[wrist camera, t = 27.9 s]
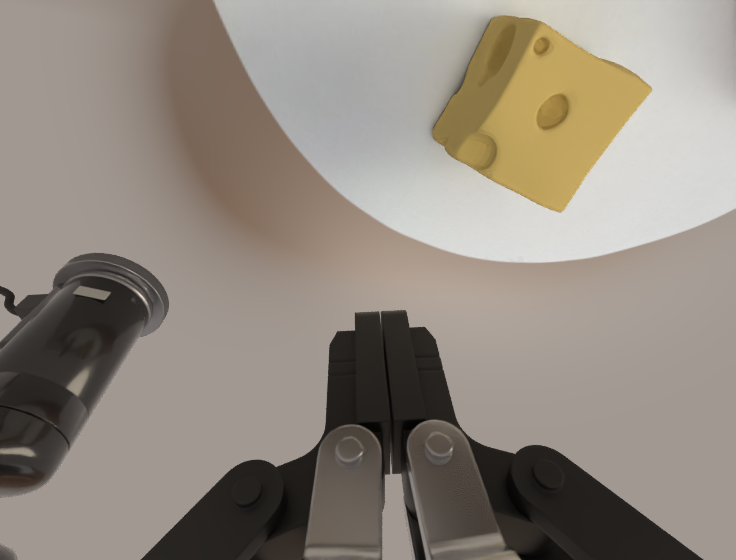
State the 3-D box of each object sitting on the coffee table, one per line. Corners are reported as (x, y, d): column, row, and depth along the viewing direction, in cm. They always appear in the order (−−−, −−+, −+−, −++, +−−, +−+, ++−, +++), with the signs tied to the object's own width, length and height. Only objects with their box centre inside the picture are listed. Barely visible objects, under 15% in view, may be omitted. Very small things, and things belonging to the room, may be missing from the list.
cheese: (428, 132, 36) (452, 171, 28) (493, 4, 31) (546, 7, 23) (517, 173, 39) (561, 218, 31) (591, 63, 33) (669, 83, 25)
